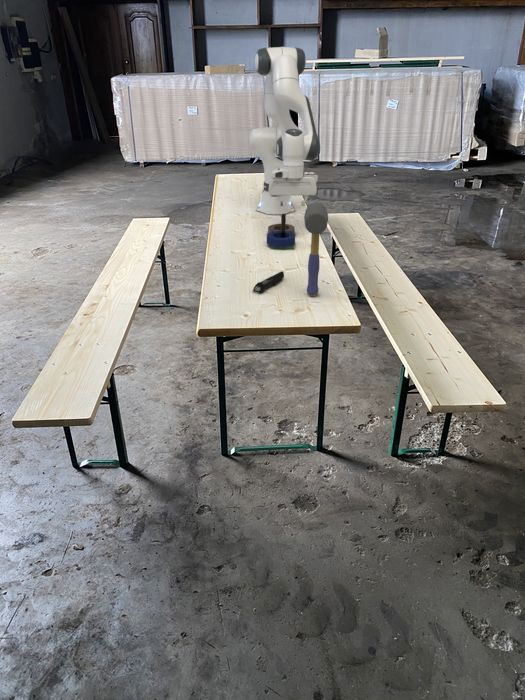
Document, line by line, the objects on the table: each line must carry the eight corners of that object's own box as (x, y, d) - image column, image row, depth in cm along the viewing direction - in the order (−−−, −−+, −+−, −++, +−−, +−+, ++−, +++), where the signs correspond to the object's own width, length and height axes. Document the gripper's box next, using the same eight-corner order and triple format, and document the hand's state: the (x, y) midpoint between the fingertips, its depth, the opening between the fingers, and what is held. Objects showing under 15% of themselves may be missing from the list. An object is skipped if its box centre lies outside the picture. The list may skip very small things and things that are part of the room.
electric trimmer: (286, 280, 189) (287, 271, 187) (261, 294, 178) (261, 285, 176) (278, 277, 191) (278, 269, 189) (252, 291, 180) (252, 283, 178)
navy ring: (268, 237, 225) (268, 230, 223) (295, 238, 224) (295, 231, 222) (265, 246, 215) (265, 239, 213) (294, 247, 214) (294, 240, 212)
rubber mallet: (323, 303, 172) (329, 211, 156) (300, 302, 172) (304, 211, 157) (323, 288, 182) (328, 200, 167) (301, 287, 183) (304, 200, 168)
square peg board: (272, 241, 224) (273, 210, 217) (294, 242, 224) (294, 211, 217) (271, 248, 216) (271, 217, 210) (293, 249, 216) (294, 217, 209)
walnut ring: (268, 230, 237) (269, 223, 236) (294, 230, 237) (294, 223, 235) (267, 238, 227) (267, 231, 226) (294, 239, 227) (294, 232, 225)
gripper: (317, 170, 221) (315, 203, 228) (268, 170, 221) (268, 203, 228) (318, 173, 215) (317, 207, 222) (268, 173, 215) (268, 207, 222)
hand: (292, 205), depth 225 cm, fingers open, 8 cm apart
